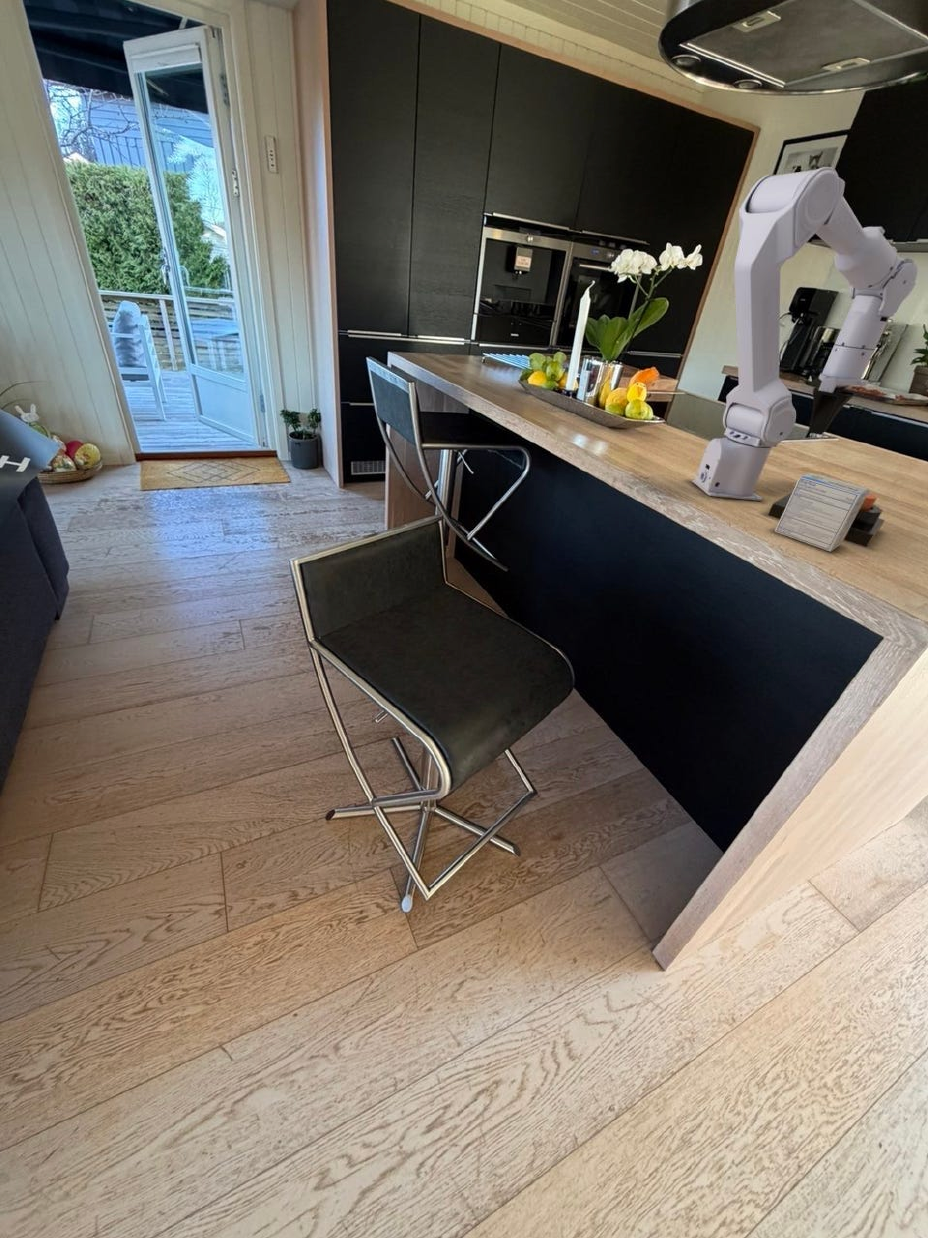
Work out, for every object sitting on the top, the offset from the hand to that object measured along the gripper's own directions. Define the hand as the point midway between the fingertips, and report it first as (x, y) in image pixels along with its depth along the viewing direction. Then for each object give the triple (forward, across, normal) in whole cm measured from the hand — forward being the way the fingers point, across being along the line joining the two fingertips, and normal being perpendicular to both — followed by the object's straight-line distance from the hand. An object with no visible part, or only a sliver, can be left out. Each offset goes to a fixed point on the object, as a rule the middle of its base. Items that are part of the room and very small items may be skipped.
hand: (815, 432), depth 92 cm
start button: (+7, -14, -12) cm, 20 cm away
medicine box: (+10, -26, -9) cm, 29 cm away
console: (+10, -15, -9) cm, 20 cm away
